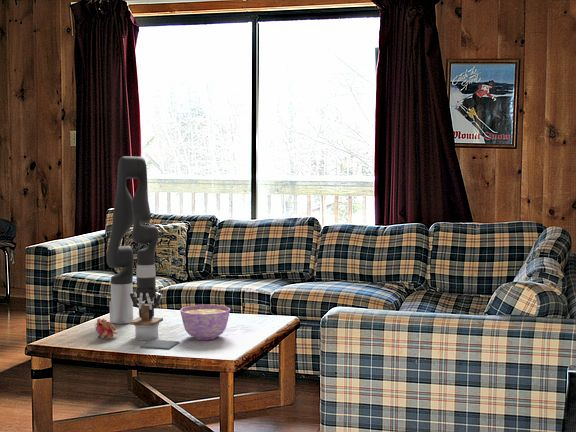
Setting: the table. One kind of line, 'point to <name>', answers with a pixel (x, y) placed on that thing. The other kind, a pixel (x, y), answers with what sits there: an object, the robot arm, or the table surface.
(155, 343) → the mat
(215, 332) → the bowl of food
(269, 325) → the table surface
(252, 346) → the table surface
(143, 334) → the jam crock
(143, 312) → the lid
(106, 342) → the table surface
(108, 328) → the flower
